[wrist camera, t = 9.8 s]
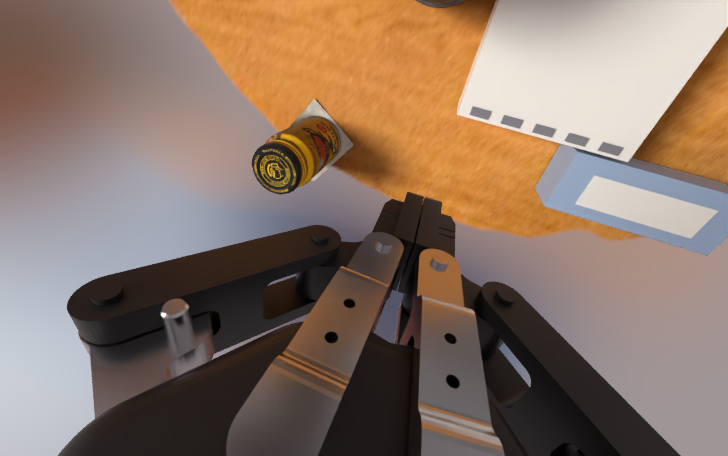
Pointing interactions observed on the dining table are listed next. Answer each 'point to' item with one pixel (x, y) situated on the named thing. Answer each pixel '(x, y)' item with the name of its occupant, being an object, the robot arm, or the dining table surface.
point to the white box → (588, 67)
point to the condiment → (300, 151)
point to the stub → (637, 198)
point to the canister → (439, 2)
